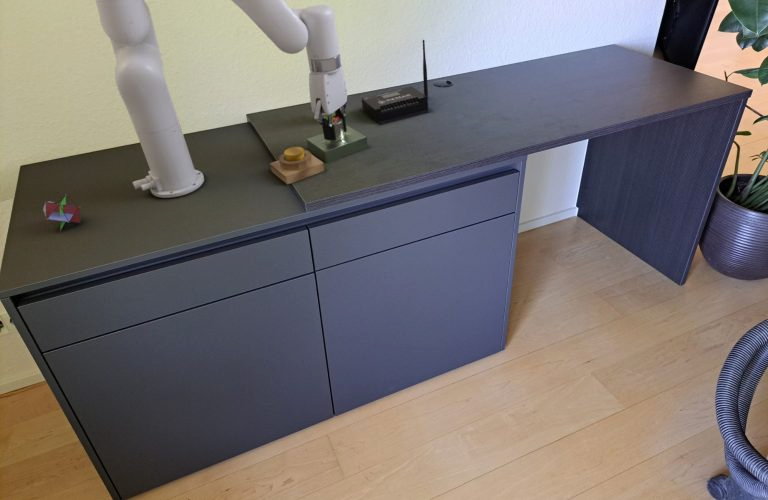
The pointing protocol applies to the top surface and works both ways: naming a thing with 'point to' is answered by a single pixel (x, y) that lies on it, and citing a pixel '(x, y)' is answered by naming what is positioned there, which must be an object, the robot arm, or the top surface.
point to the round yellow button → (294, 154)
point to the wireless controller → (398, 102)
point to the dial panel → (337, 145)
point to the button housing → (296, 168)
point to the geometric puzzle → (62, 212)
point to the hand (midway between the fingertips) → (335, 134)
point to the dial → (338, 128)
